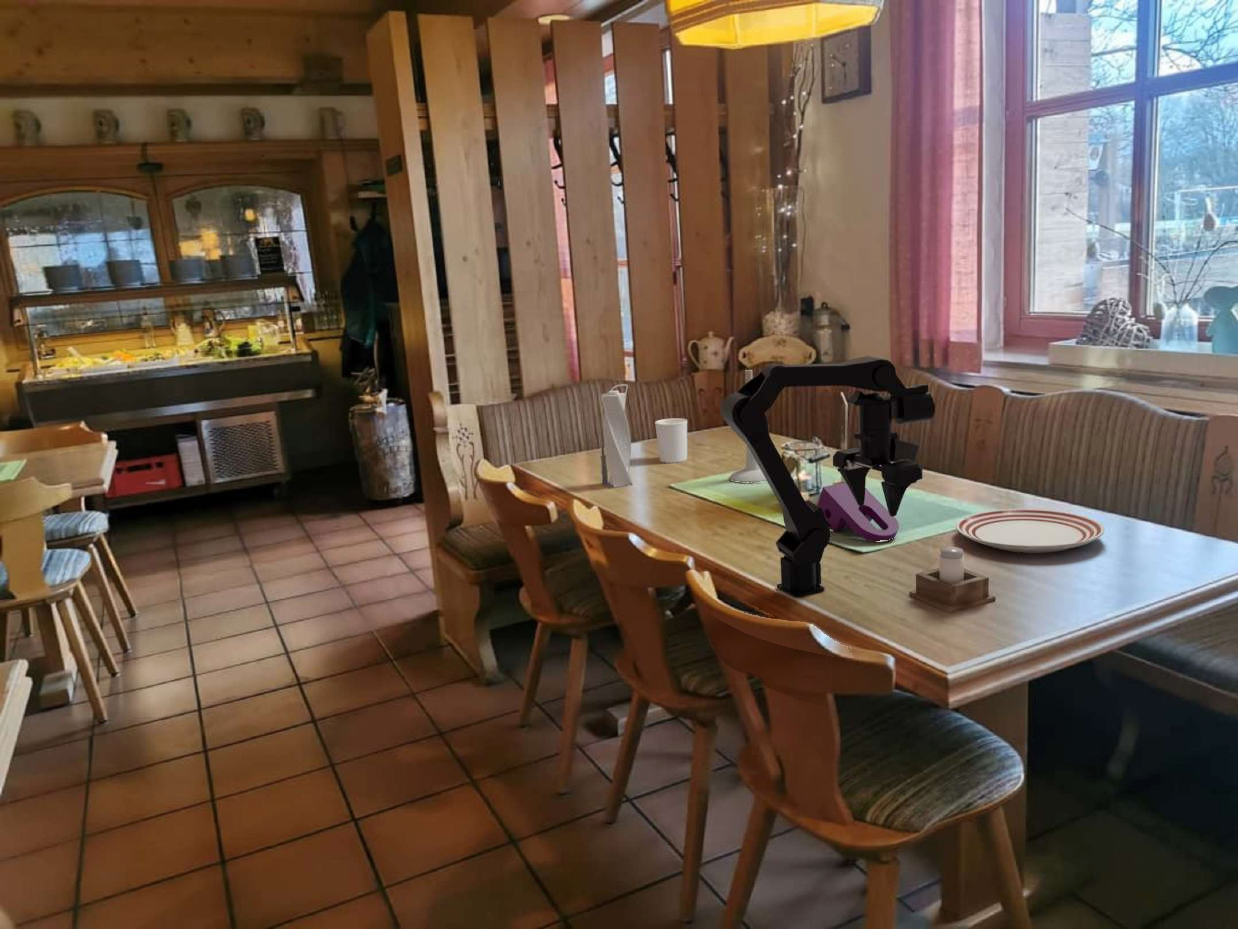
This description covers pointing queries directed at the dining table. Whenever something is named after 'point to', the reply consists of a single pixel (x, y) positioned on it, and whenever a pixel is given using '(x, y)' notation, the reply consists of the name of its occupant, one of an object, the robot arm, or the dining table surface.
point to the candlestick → (749, 459)
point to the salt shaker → (951, 565)
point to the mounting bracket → (856, 513)
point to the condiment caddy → (952, 590)
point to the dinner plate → (1030, 529)
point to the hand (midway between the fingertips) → (876, 510)
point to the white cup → (672, 439)
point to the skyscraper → (616, 440)
